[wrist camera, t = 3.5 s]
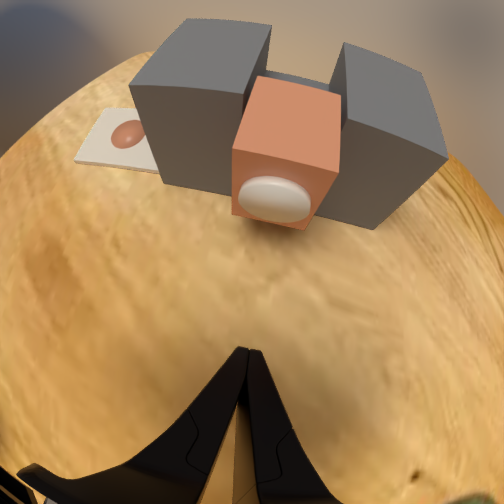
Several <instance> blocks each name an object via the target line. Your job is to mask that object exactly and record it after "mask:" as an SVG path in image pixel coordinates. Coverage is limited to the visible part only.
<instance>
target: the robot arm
mask: <svg viewBox="0 0 504 504" xmlns="http://www.w3.org/2000/svg"><path fill="white" fill-rule="evenodd" d="M237 402H238V404H237ZM236 406H237V417H236V436H235V456H234V476H233V497H232V504H343V503H341V502H340V501H339V500H337V499H336V498H335V497H334V496H333V495H332V494H331V493H330V491H329V490H328V489H327V487H326V486H325V484H324V483H323V481H322V480H321V478H320V476H319V475H318V473H317V472H316V470H315V469H314V467H313V465H312V464H311V462H310V461H309V459H308V457H307V455H306V454H305V452H304V450H303V448H302V446H301V444H300V442H299V440H298V438H297V435H296V433H295V431H294V429H292V428H293V426H292V424H291V422H290V419H289V417H288V414H287V412H286V410H285V407H284V405H283V403H282V400H281V398H280V395H279V393H278V390H277V388H276V386H275V383H274V381H273V378H272V376H271V373H270V371H269V368H268V366H267V363H266V361H265V359H264V356H263V354H262V352H261V351H260V350H255V349H250V350H249V349H248V348H245V347H241V346H238V347H237V348H236V349H235V350H234V351H233V353H232V354H231V355H230V356H229V358H228V359H227V360H226V361H225V363H224V364H223V365H222V366H221V368H220V369H219V370H218V371H217V373H216V374H215V375H214V376H213V377H212V379H211V380H210V381H209V382H208V384H207V385H206V386H205V387H204V388H203V390H202V391H201V392H200V393H199V394H198V396H197V397H196V398H195V399H194V400H193V402H192V403H191V404H190V405H189V406H188V408H187V409H186V410H185V411H184V412H183V413H182V414H181V416H180V417H179V418H178V419H177V420H176V421H175V422H174V423H173V424H172V425H171V426H170V427H169V428H168V429H167V430H166V431H165V432H164V433H162V434H161V435H160V436H159V437H158V438H157V439H155V440H154V441H153V442H152V443H150V444H149V445H148V446H147V447H145V448H144V449H143V450H142V451H140V452H139V453H138V454H137V455H135V456H134V457H133V458H131V459H130V460H128V461H126V462H125V463H123V464H121V465H118V466H116V467H113V468H110V469H107V470H104V471H101V472H98V473H95V474H92V475H89V476H85V477H82V478H78V479H64V478H61V477H58V476H56V475H55V474H53V473H52V472H50V471H48V470H47V469H45V468H43V467H42V466H40V465H38V464H36V463H33V464H31V465H29V466H27V467H25V468H23V469H21V470H20V471H19V472H18V473H17V474H16V475H17V476H18V477H19V478H20V479H21V480H23V481H24V482H25V483H27V484H28V485H29V486H31V487H32V488H34V489H35V490H36V491H38V492H39V493H41V494H42V495H44V496H46V499H45V501H44V504H200V503H201V500H202V498H203V495H204V493H205V490H206V488H207V485H208V482H209V480H210V477H211V475H212V472H213V469H214V467H215V464H216V461H217V459H218V456H219V453H220V451H221V448H222V445H223V442H224V440H225V437H226V434H227V431H228V429H229V426H230V423H231V420H232V417H233V415H234V412H235V409H236ZM0 504H38V503H37V500H36V498H35V495H34V493H33V490H31V489H30V488H29V487H27V486H26V485H24V484H23V483H22V482H20V481H19V480H18V479H16V478H15V477H14V476H13V475H11V474H10V473H9V472H8V471H6V470H5V469H4V468H3V467H2V466H0Z"/></svg>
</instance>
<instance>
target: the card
mask: <svg viewBox="0 0 504 504" xmlns="http://www.w3.org/2000/svg"><path fill="white" fill-rule="evenodd" d="M74 162H75V163H80V164H89V165H98V166H106V167H114V168H122V169H129V170H136V171H143V172H150V173H157V174H160V173H159V170H158V168H157V165H156V162H155V160H154V157H153V154H152V152H151V149H150V146H149V144H148V141H147V138H146V135H145V132H144V130H143V127H142V124H141V121H140V118H139V115H138V112H137V109H136V108H105V109H104V111H103V112H102V114H101V115H100V117H99V118H98V120H97V121H96V123H95V124H94V126H93V128H92V129H91V131H90V132H89V134H88V136H87V137H86V139H85V141H84V142H83V144H82V146H81V147H80V149H79V151H78V153H77V155H76V156H75V158H74Z"/></svg>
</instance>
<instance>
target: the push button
mask: <svg viewBox="0 0 504 504" xmlns="http://www.w3.org/2000/svg"><path fill="white" fill-rule="evenodd" d="M340 134H341V95H338V94H335V93H332V92H328V91H325V90H321V89H317V88H313V87H309V86H305V85H301V84H297V83H293V82H288V81H283V80H278V79H273V78H268V77H262V76H257V78H256V81H255V84H254V87H253V89H252V92H251V95H250V98H249V100H248V103H247V106H246V109H245V112H244V115H243V117H242V120H241V123H240V126H239V129H238V132H237V135H236V138H235V141H234V144H233V147H232V215H237V216H242V217H246V218H251V219H255V220H260V221H265V222H269V223H274V224H278V225H282V226H287V227H291V228H296V229H300V230H305V228H306V227H307V225H308V223H309V222H310V220H311V219H312V217H313V215H314V214H315V212H316V210H317V209H318V207H319V205H320V204H321V202H322V200H323V199H324V197H325V195H326V194H327V192H328V190H329V189H330V187H331V185H332V184H333V182H334V180H335V179H336V177H337V175H338V174H339V161H340Z"/></svg>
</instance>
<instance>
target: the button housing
mask: <svg viewBox="0 0 504 504" xmlns="http://www.w3.org/2000/svg"><path fill="white" fill-rule="evenodd" d="M271 29H272V25H266V24H259V23H252V22H243V21H233V20H219V19H186V20H185V21H184V22H183V23H182V24H181V25H180V26H179V27H178V28H177V29H176V30H175V31H174V32H173V33H172V34H171V35H170V36H169V37H168V38H167V39H166V41H165V42H164V43H163V44H162V45H161V46H160V47H159V48H158V50H157V51H156V52H155V53H154V54H153V55H152V56H151V58H150V59H149V60H148V61H147V62H146V63H145V65H144V66H143V67H142V68H141V70H140V71H139V72H138V73H137V75H136V76H135V77H134V78H133V80H132V81H131V82H130V84H129V88H130V91H131V95H132V98H133V101H134V104H135V107H136V109H137V112H138V115H139V118H140V121H141V124H142V127H143V130H144V132H145V135H146V138H147V141H148V144H149V146H150V149H151V152H152V154H153V157H154V160H155V162H156V165H157V168H158V170H159V173H160V176H161V178H162V181H163V183H164V184H169V185H175V186H180V187H186V188H191V189H197V190H202V191H207V192H213V193H218V194H223V195H228V196H232V147H233V144H234V141H235V138H236V135H237V132H238V129H239V126H240V123H241V120H242V117H243V115H244V112H245V109H246V106H247V103H248V100H249V98H250V95H251V92H252V89H253V87H254V84H255V81H256V78H257V76H262V77H268V78H273V79H278V80H283V81H288V82H293V83H297V84H301V85H305V86H309V87H313V88H317V89H321V90H325V91H328V92H332V93H335V94H338V95H341V134H340V161H339V174H338V175H337V177H336V179H335V180H334V182H333V184H332V185H331V187H330V189H329V190H328V192H327V194H326V195H325V197H324V199H323V200H322V202H321V204H320V205H319V207H318V209H317V210H316V212H315V214H314V215H317V216H321V217H325V218H329V219H333V220H337V221H341V222H345V223H348V224H352V225H356V226H360V227H363V228H367V229H371V230H373V229H375V228H376V227H377V226H378V225H379V224H380V223H381V222H383V221H384V220H385V219H386V218H387V217H388V216H389V215H390V214H392V213H393V212H394V211H395V210H396V209H397V208H398V207H399V206H400V205H401V204H403V203H404V202H405V201H406V200H407V199H408V198H409V197H410V196H411V195H412V194H413V193H414V192H415V191H417V190H418V189H419V188H420V187H421V186H422V185H423V184H424V183H425V182H426V181H427V180H428V179H429V178H430V177H431V176H432V175H433V174H434V173H435V172H436V171H437V170H438V169H439V168H440V167H441V166H442V165H443V164H444V163H445V162H446V161H447V160H448V159H449V157H448V153H447V149H446V146H445V141H444V138H443V135H442V131H441V127H440V124H439V121H438V117H437V114H436V112H435V108H434V105H433V103H432V100H431V97H430V94H429V91H428V89H427V86H426V84H425V81H424V79H423V76H422V74H421V73H420V72H418V71H416V70H414V69H412V68H410V67H408V66H406V65H403V64H401V63H399V62H397V61H394V60H391V59H389V58H387V57H385V56H382V55H379V54H377V53H374V52H371V51H369V50H366V49H363V48H360V47H357V46H354V45H351V44H348V43H345V42H344V43H343V46H342V49H341V52H340V55H339V58H338V60H337V64H336V66H335V69H334V72H333V75H332V78H331V81H330V84H325V83H321V82H318V81H314V80H310V79H306V78H302V77H297V76H293V75H289V74H284V73H279V72H273V71H268V70H266V65H267V58H268V51H269V43H270V36H271Z"/></svg>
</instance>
